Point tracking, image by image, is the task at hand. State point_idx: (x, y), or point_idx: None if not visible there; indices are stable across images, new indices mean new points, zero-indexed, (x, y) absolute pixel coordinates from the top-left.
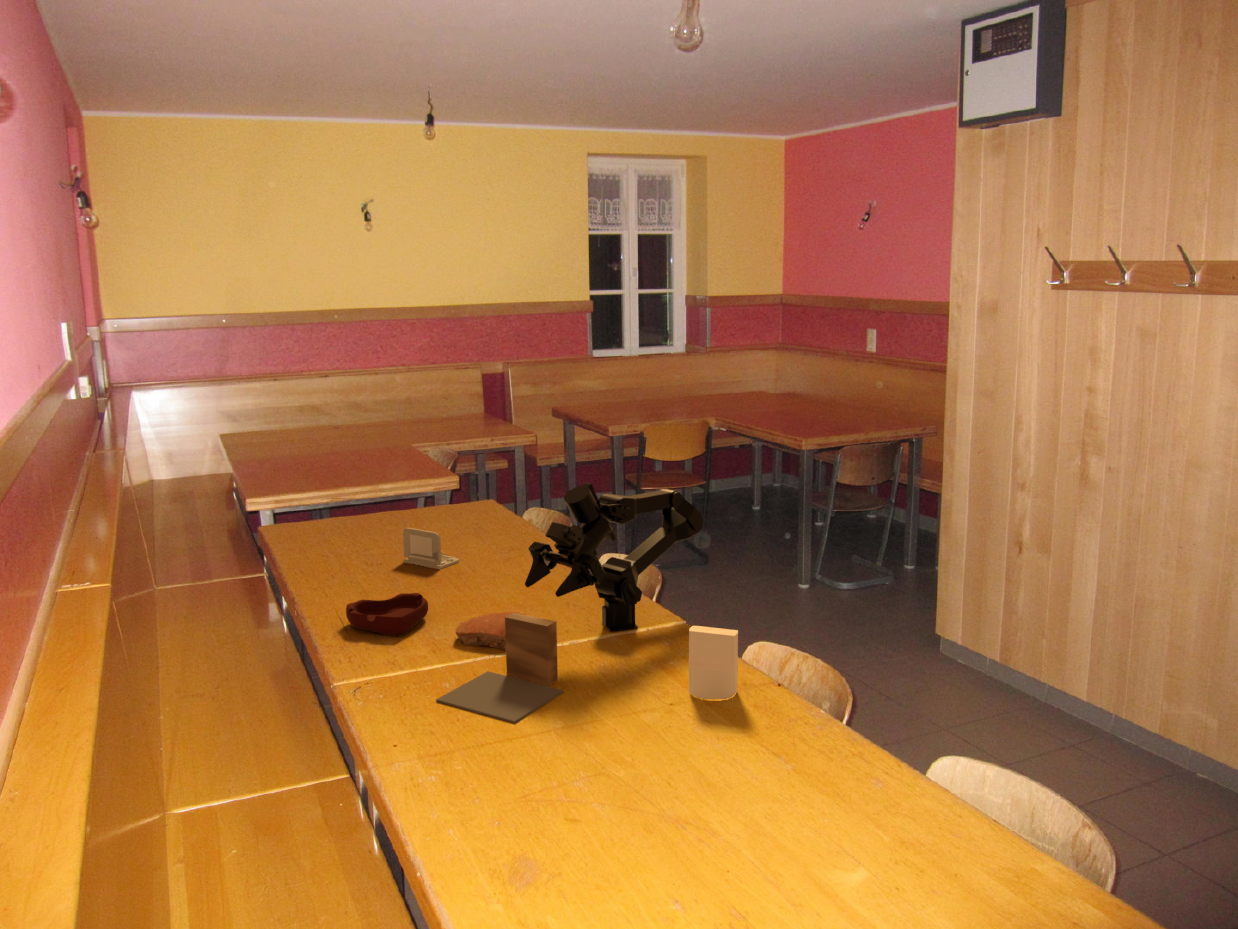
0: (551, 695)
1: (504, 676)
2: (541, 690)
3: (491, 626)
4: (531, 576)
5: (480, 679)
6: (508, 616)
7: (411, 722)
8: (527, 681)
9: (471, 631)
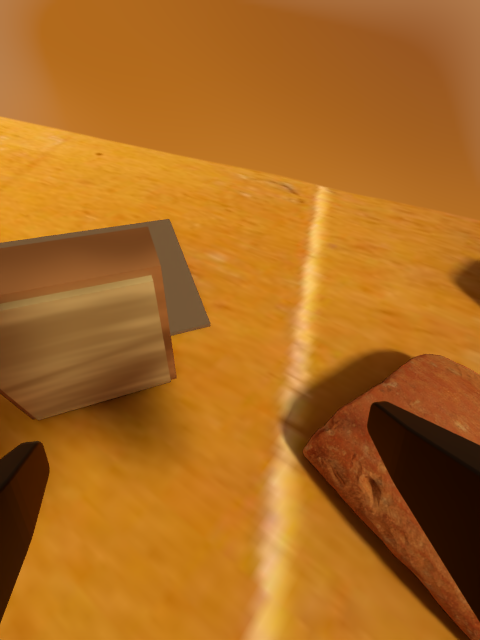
0: None
1: None
2: None
3: None
4: (427, 449)
5: (184, 294)
6: (144, 235)
7: (137, 182)
8: None
9: (410, 367)
